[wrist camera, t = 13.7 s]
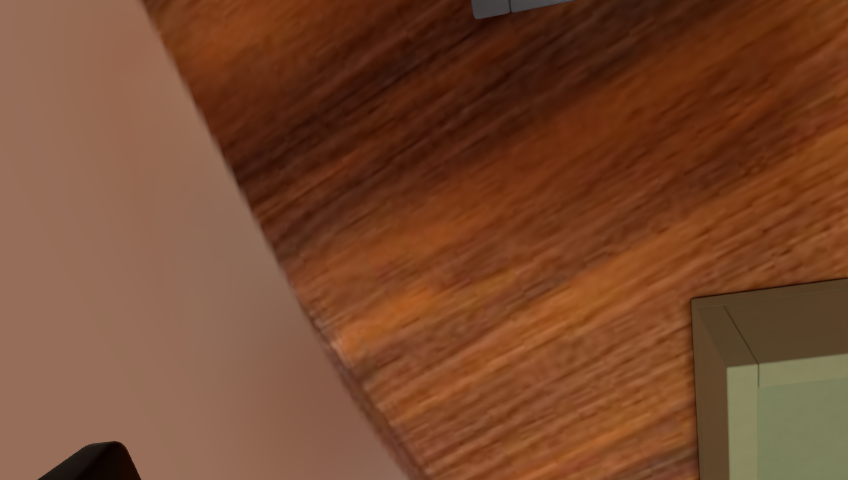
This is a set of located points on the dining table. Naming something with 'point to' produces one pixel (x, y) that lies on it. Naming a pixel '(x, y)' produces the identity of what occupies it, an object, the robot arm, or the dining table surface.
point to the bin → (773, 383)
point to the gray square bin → (507, 6)
